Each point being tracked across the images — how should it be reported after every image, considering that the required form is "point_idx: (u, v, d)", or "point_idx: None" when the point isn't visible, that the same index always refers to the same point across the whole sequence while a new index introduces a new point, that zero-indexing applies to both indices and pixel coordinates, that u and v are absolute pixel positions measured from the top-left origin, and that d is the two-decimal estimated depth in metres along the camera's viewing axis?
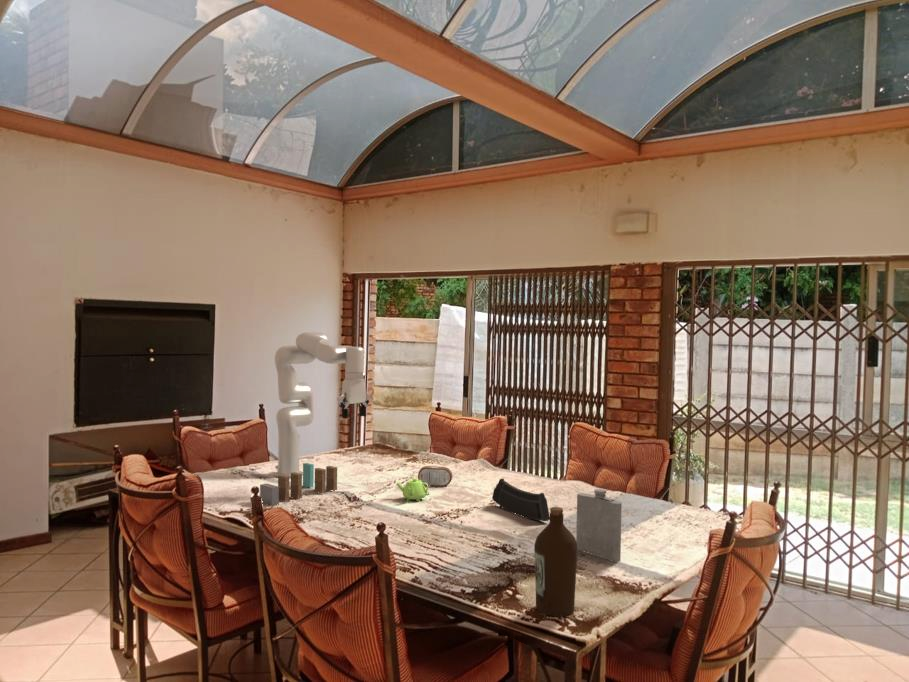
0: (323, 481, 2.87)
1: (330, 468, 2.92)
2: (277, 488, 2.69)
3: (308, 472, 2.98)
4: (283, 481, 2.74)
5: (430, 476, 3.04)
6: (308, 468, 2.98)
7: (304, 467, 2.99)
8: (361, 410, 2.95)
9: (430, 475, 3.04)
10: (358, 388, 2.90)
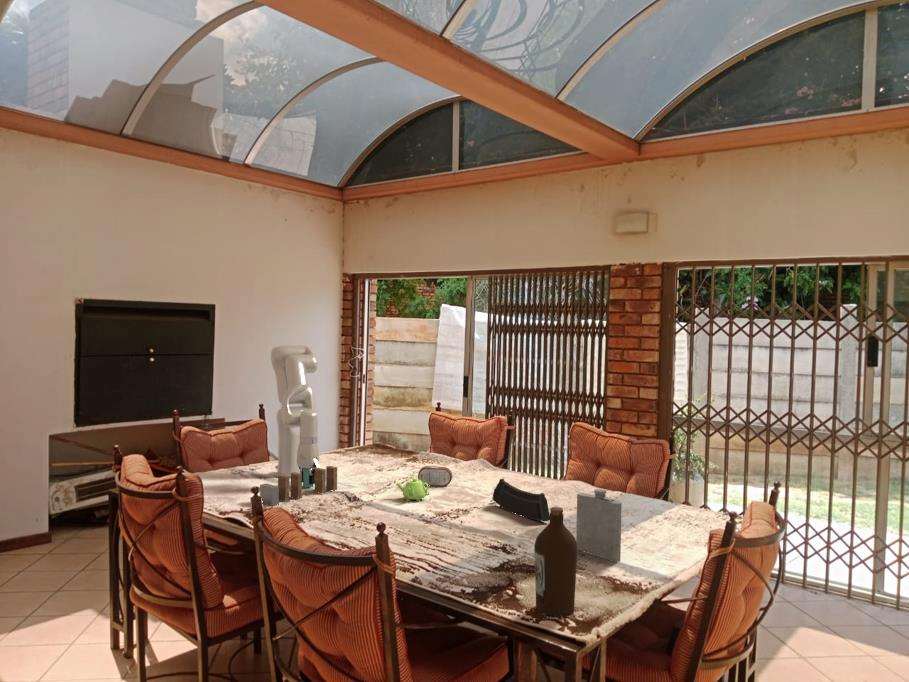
0: (323, 481, 2.87)
1: (330, 468, 2.92)
2: (277, 488, 2.69)
3: (308, 472, 2.98)
4: (283, 481, 2.74)
5: (430, 476, 3.04)
6: None
7: None
8: None
9: (430, 475, 3.04)
10: None
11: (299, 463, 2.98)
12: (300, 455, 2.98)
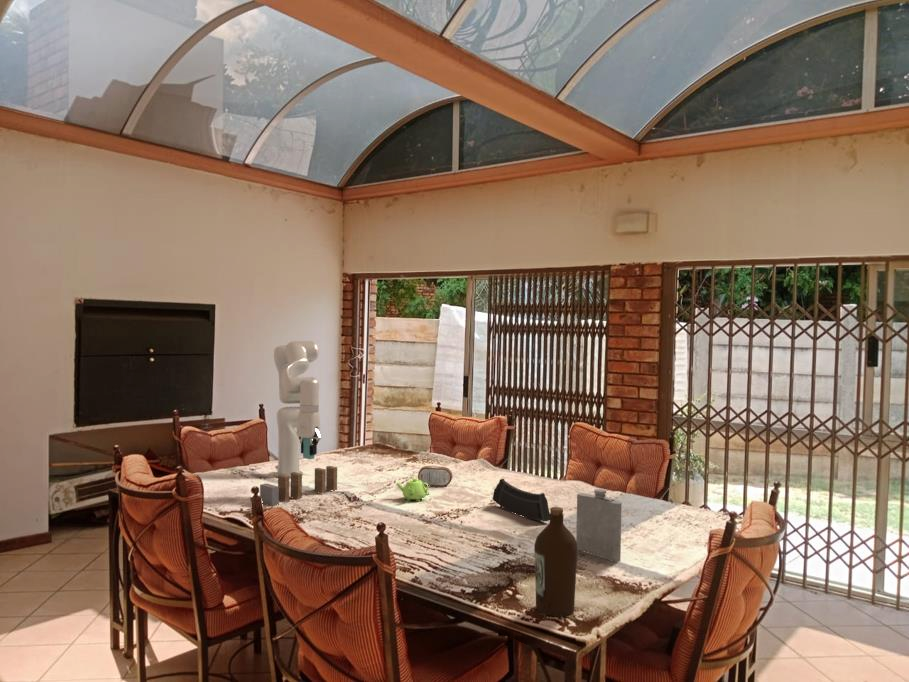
0: (323, 481, 2.87)
1: (330, 468, 2.92)
2: (277, 488, 2.69)
3: (308, 443, 2.83)
4: (283, 481, 2.74)
5: (430, 476, 3.04)
6: (308, 438, 2.83)
7: None
8: None
9: (430, 475, 3.04)
10: None
11: (299, 433, 2.83)
12: (300, 424, 2.83)
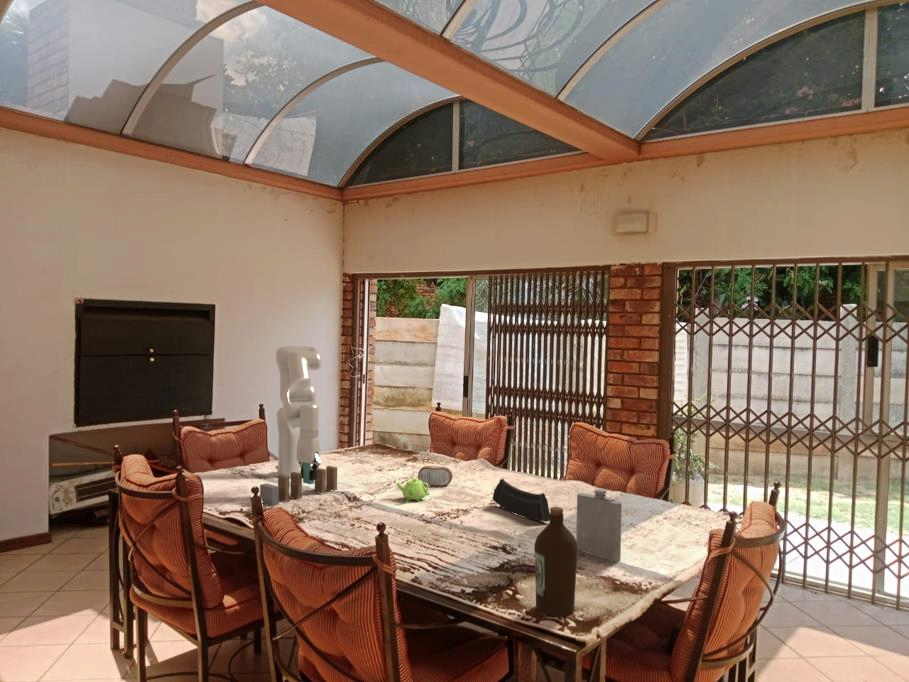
0: (323, 481, 2.87)
1: (330, 468, 2.92)
2: (277, 488, 2.69)
3: (308, 468, 2.83)
4: (283, 481, 2.74)
5: (430, 476, 3.04)
6: None
7: None
8: None
9: (430, 475, 3.04)
10: None
11: (299, 458, 2.84)
12: (300, 449, 2.83)
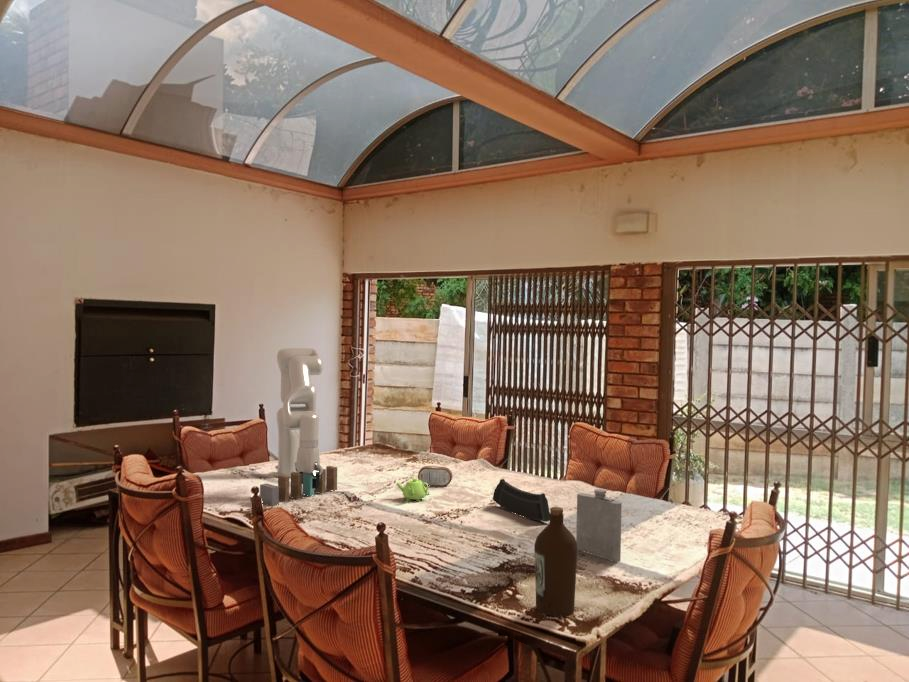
0: (323, 481, 2.87)
1: (330, 468, 2.92)
2: (277, 488, 2.69)
3: (308, 480, 2.83)
4: (283, 481, 2.74)
5: (430, 476, 3.04)
6: (308, 476, 2.83)
7: (304, 474, 2.85)
8: None
9: (430, 475, 3.04)
10: None
11: (299, 468, 2.84)
12: (300, 459, 2.83)
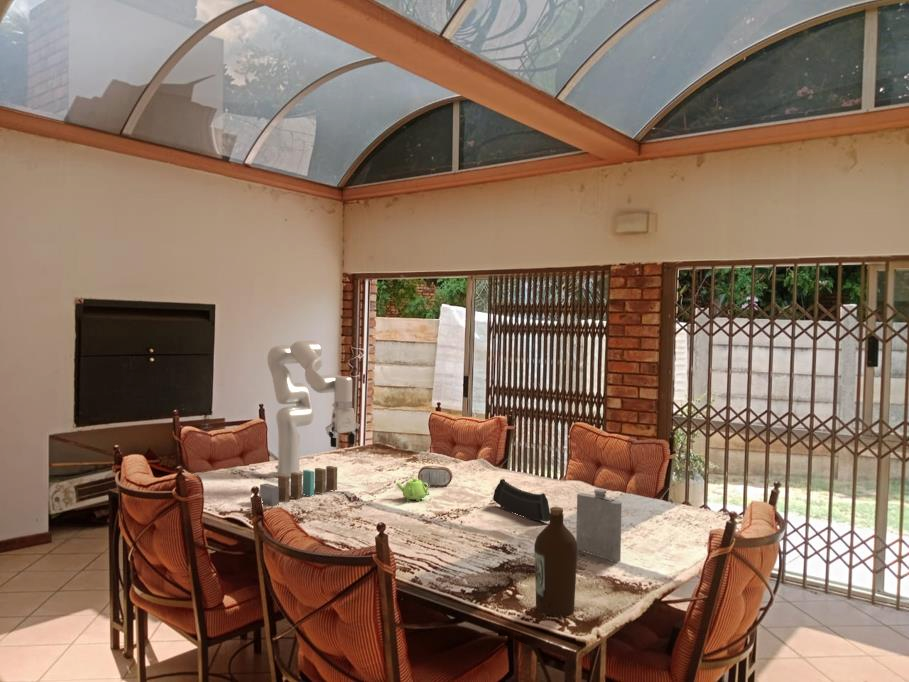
0: (323, 481, 2.87)
1: (330, 468, 2.92)
2: (277, 488, 2.69)
3: (308, 480, 2.83)
4: (283, 481, 2.74)
5: (430, 476, 3.04)
6: (308, 476, 2.83)
7: (304, 474, 2.85)
8: None
9: (430, 475, 3.04)
10: None
11: (342, 429, 2.94)
12: (343, 421, 2.94)
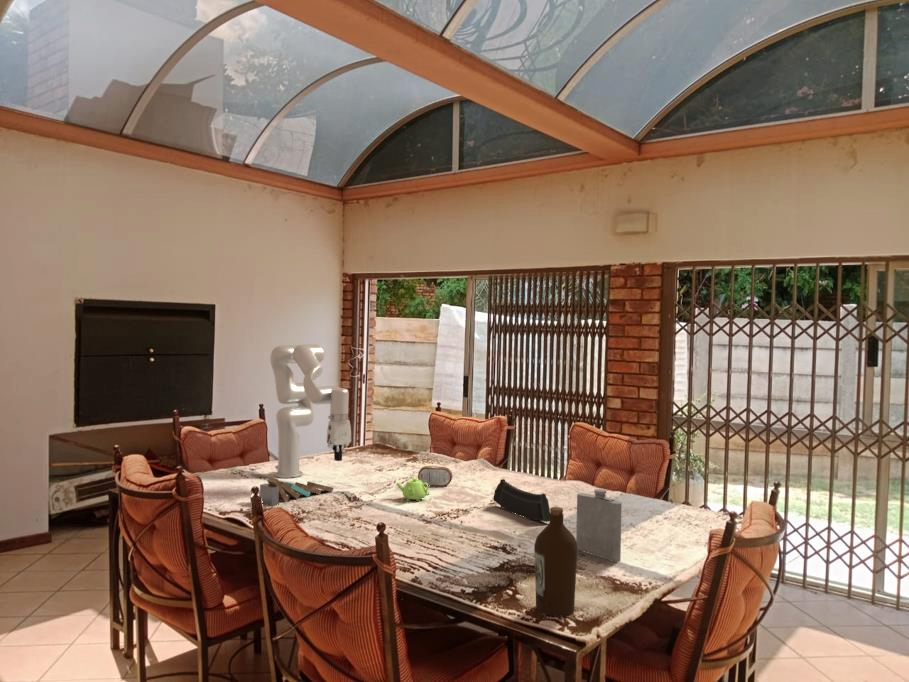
0: (310, 490, 2.82)
1: None
2: (277, 488, 2.69)
3: (295, 490, 2.78)
4: (274, 485, 2.71)
5: (430, 476, 3.04)
6: None
7: None
8: None
9: (430, 475, 3.04)
10: None
11: (338, 441, 2.92)
12: (339, 433, 2.93)
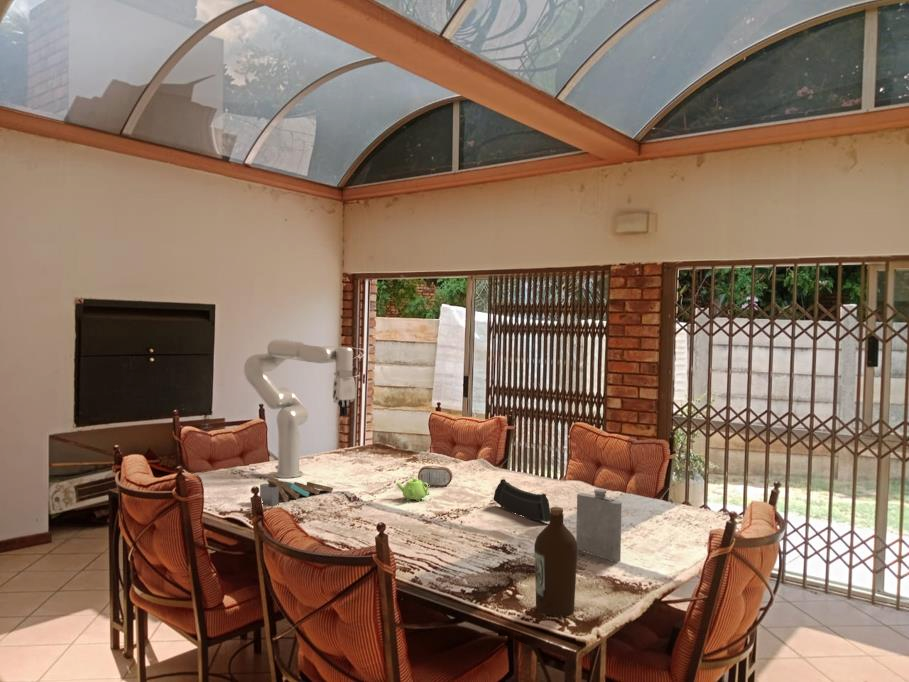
0: (309, 490, 2.82)
1: None
2: (277, 488, 2.69)
3: (294, 490, 2.78)
4: (274, 485, 2.71)
5: (430, 476, 3.04)
6: (291, 488, 2.77)
7: None
8: None
9: (430, 475, 3.04)
10: None
11: (343, 396, 3.10)
12: (344, 388, 3.11)
